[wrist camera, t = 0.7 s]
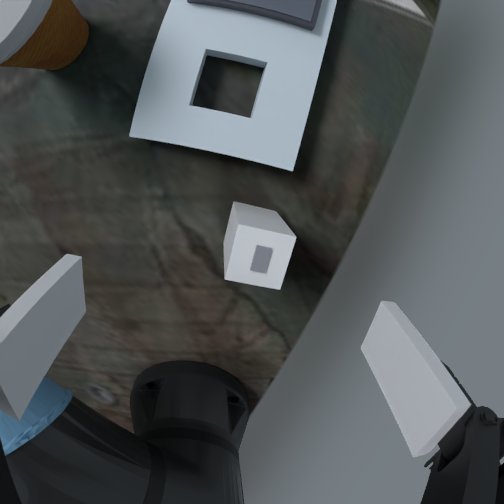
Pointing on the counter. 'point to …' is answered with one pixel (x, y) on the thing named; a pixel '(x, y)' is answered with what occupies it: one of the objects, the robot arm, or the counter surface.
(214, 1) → the phone
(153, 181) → the counter surface
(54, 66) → the disposable coffee cup
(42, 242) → the counter surface
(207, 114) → the outlet board
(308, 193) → the counter surface
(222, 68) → the counter surface
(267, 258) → the block
